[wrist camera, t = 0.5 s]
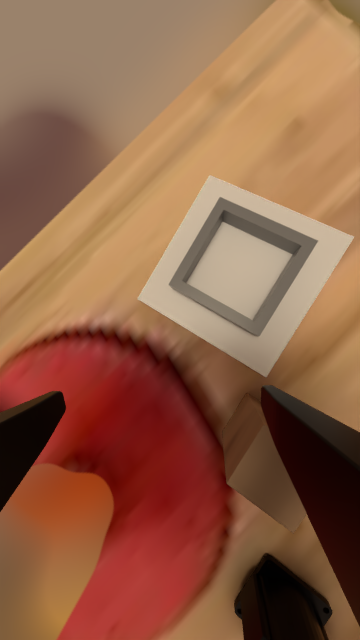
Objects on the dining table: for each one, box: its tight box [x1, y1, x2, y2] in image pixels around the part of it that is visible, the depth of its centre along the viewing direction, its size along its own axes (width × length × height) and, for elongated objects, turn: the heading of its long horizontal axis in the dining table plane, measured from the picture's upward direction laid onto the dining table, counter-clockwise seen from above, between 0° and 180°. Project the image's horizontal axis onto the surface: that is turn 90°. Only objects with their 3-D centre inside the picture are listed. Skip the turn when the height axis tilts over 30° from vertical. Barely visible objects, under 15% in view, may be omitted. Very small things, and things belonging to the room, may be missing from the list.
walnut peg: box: [222, 393, 307, 534], centre depth 16 cm, size 5×5×7 cm
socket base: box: [138, 175, 354, 377], centre depth 19 cm, size 16×16×3 cm
